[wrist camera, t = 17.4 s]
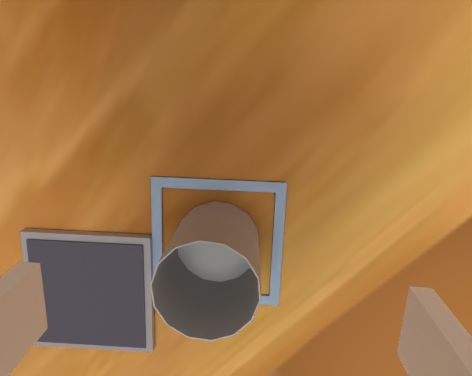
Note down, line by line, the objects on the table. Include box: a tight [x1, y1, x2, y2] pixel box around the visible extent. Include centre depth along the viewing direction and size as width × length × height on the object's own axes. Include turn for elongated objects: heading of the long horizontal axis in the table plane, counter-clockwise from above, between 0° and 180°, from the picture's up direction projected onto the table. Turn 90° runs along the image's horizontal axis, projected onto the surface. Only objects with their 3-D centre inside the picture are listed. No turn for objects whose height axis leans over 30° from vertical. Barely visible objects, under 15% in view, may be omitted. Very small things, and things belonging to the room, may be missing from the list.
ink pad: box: [20, 228, 155, 353], centre depth 40 cm, size 13×13×1 cm
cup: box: [150, 201, 261, 341], centre depth 34 cm, size 8×8×10 cm
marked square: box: [151, 176, 287, 306], centre depth 39 cm, size 13×13×1 cm
